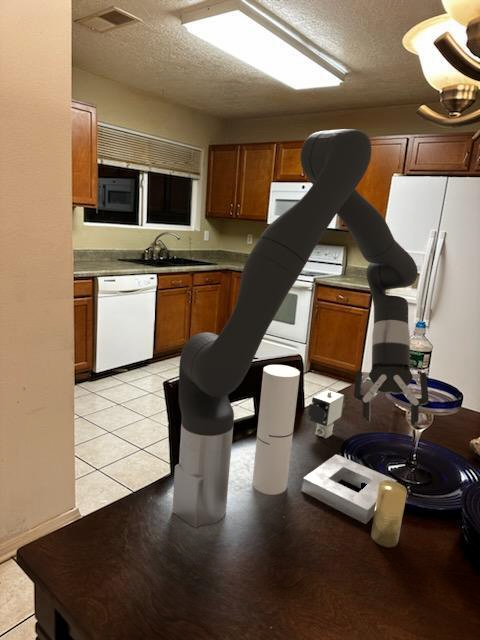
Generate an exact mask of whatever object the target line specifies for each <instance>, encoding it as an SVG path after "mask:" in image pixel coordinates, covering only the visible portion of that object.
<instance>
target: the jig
mask: <svg viewBox="0 0 480 640" xmlns="http://www.w3.org/2000/svg"><path fill="white" fill-rule="evenodd" d="M341 480H342V481H345V482H347V483H349V484H351V485H353V486H355V487H357V488H359V489H361V483H365V484H367V485H366V486H365V487H364V488H363V489H361V490H359V492H357V491H355V490H353V489H351V488H348V487H347V486H346V485H345V486H344V485H343V484H341V483H339V482H340V481H341ZM384 480H390V481H395V482H397V479H394V478H392V477H390V476H387V475H385V474H383V473H380V472H378V471H376V470H373V469H371V468H369V467H367V466H365V465H362V464H360V463H357V462H356V461H353V460H351V459H349V458H346V457H344V456H342V455H340V454H334V455H333V456H332V457H330V458H329V459H327V460H326V461H324V462H323V463H322V464H320V465H319V466H318V467H316V468H315V469H313V470H312V471H311V472H310V473H307V475H305V476H304V477H303V478H302V486H301V492H303V493H305V494H306V495H309V496H311V497H312V498H314V499H317V500H318V501H319V502H322V503H324V504H326V505H328V506H329V507H331V508H333V509H335V510H337V511H340V512H341V513H343V514H346V515H347V516H349V517H351V518H352V519H355V520H356V521H359V522H360V523H363V524H364V525H367V524H368V522H369V521H371V519H372V518H374V513H375V507H376V501H377V495H378V489H379V483H380V482H381V481H384Z"/></svg>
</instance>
